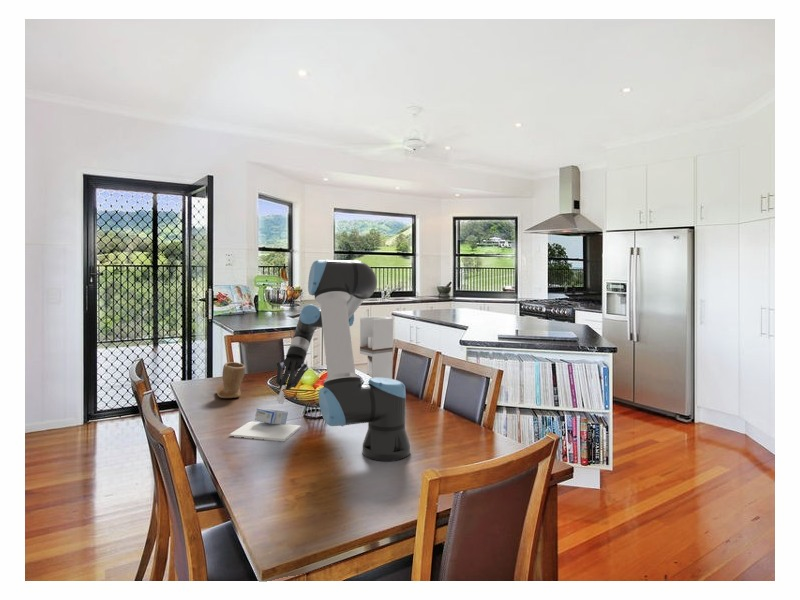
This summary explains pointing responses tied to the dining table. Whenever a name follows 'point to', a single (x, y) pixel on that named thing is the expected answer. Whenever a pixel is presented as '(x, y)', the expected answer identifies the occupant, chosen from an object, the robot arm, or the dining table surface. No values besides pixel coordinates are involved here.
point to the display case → (377, 345)
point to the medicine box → (271, 416)
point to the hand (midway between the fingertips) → (279, 402)
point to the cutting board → (266, 431)
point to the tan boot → (231, 380)
